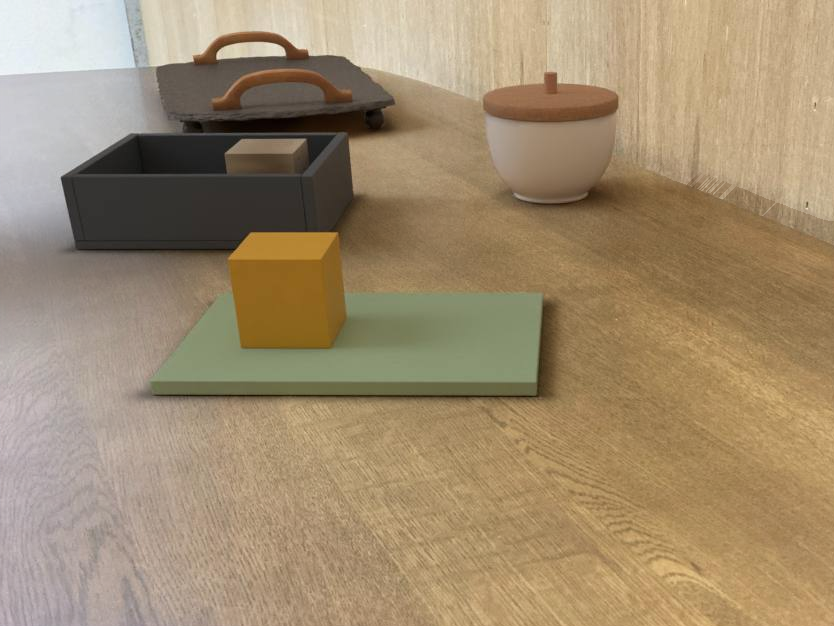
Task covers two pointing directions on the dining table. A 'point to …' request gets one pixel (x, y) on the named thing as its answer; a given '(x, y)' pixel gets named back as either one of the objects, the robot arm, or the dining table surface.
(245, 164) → the cream block
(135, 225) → the box
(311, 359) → the mat
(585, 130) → the lidded sugar bowl
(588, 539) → the dining table surface
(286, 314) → the mustard block
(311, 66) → the serving tray
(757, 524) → the dining table surface
